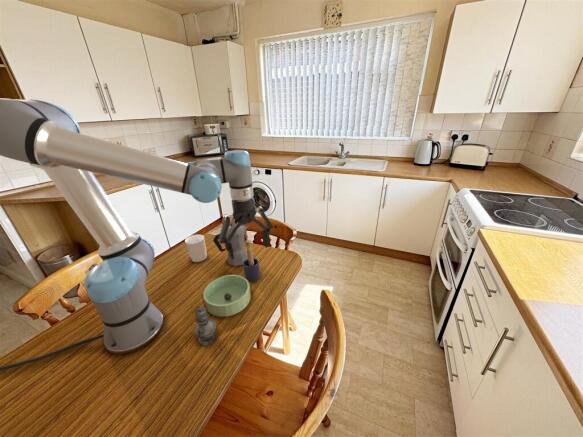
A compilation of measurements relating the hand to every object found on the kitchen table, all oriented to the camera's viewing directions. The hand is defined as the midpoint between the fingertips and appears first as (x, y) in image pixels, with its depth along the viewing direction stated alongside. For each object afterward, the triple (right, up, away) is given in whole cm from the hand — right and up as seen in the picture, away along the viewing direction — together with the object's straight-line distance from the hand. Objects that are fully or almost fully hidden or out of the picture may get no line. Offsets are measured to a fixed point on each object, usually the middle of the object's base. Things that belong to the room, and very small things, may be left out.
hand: (249, 251), depth 89 cm
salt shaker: (-9, -23, -19) cm, 31 cm away
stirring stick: (+1, -10, +5) cm, 11 cm away
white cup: (-26, -6, +19) cm, 32 cm away
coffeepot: (-9, -7, +15) cm, 19 cm away
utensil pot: (0, -11, +5) cm, 12 cm away
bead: (-6, -15, -7) cm, 17 cm away
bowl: (-6, -16, -6) cm, 18 cm away
